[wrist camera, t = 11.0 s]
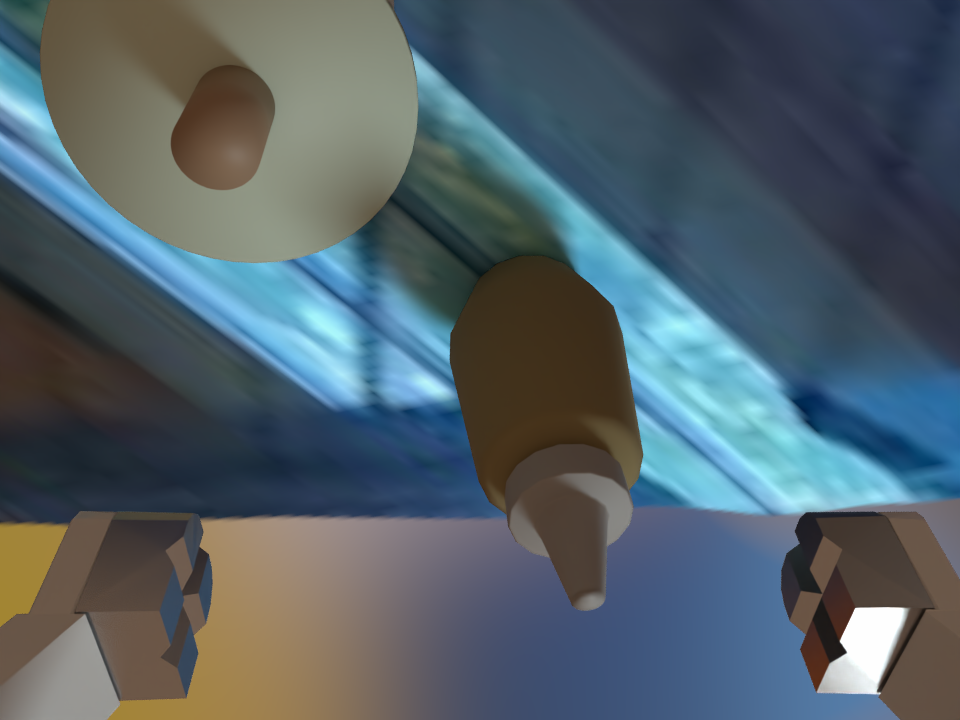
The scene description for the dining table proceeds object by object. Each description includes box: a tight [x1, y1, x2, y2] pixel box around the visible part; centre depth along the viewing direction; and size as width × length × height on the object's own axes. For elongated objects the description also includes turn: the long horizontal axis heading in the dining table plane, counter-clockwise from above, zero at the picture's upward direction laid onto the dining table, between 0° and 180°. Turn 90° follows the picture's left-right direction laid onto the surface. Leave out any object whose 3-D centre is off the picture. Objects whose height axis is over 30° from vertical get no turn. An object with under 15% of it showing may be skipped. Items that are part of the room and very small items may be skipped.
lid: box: [40, 0, 418, 263], centre depth 30 cm, size 13×13×5 cm
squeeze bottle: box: [450, 256, 643, 611], centre depth 36 cm, size 8×8×18 cm
